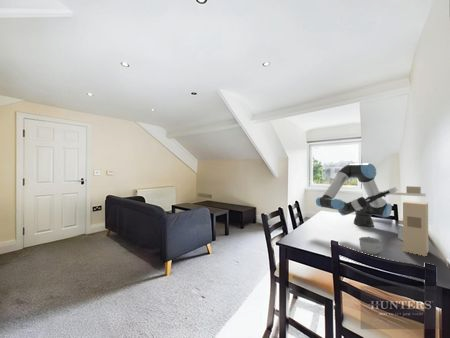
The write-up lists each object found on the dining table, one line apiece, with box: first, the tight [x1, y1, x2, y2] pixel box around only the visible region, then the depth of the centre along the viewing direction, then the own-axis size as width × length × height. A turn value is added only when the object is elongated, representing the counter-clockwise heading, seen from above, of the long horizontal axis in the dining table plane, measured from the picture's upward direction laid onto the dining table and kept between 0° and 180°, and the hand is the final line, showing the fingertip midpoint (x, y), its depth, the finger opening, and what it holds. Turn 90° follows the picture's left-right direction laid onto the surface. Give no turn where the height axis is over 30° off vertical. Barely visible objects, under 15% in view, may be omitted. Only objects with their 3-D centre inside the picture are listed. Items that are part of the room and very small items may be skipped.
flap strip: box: [379, 185, 426, 197], centre depth 127 cm, size 4×22×6 cm, turn 40°
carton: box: [402, 200, 429, 257], centre depth 121 cm, size 12×10×30 cm
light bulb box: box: [397, 223, 403, 242], centre depth 139 cm, size 11×7×11 cm, turn 168°
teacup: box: [359, 236, 382, 256], centre depth 121 cm, size 14×11×8 cm
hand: (395, 189), depth 128 cm, fingers closed on flap strip, 4 cm apart
